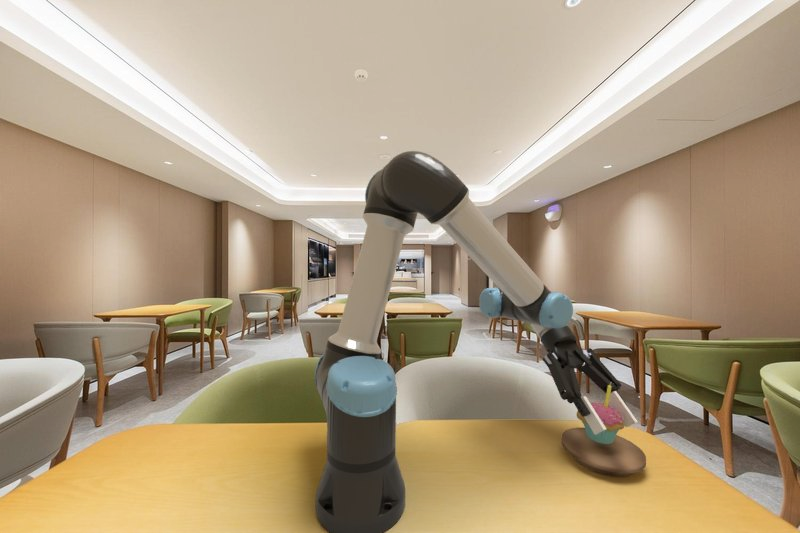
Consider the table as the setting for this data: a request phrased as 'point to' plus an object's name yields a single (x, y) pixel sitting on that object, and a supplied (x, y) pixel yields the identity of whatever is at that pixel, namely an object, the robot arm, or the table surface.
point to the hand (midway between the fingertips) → (616, 428)
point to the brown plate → (604, 454)
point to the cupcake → (605, 421)
